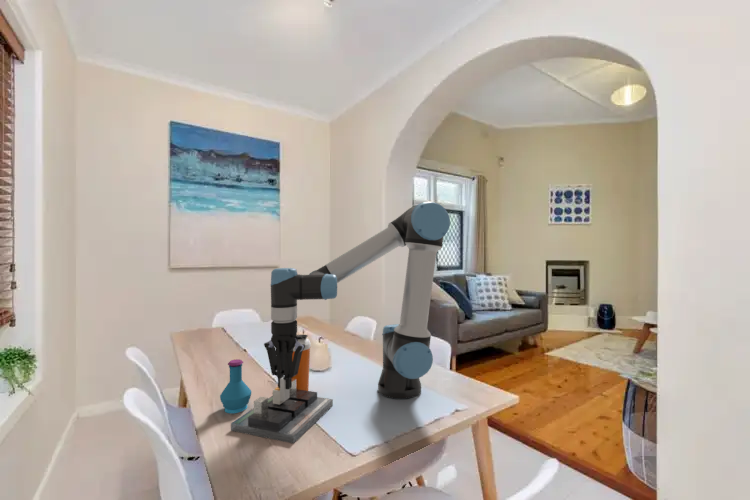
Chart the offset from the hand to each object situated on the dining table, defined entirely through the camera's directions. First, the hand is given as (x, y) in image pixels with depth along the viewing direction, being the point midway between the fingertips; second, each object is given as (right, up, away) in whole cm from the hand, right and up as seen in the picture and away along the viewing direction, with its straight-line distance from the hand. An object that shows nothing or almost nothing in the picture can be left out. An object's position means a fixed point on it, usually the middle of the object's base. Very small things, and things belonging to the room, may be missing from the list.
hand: (284, 399), depth 107 cm
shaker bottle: (0, -5, +18) cm, 19 cm away
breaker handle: (-2, -1, +1) cm, 2 cm away
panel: (0, -6, 0) cm, 6 cm away
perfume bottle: (-17, -6, +6) cm, 19 cm away
